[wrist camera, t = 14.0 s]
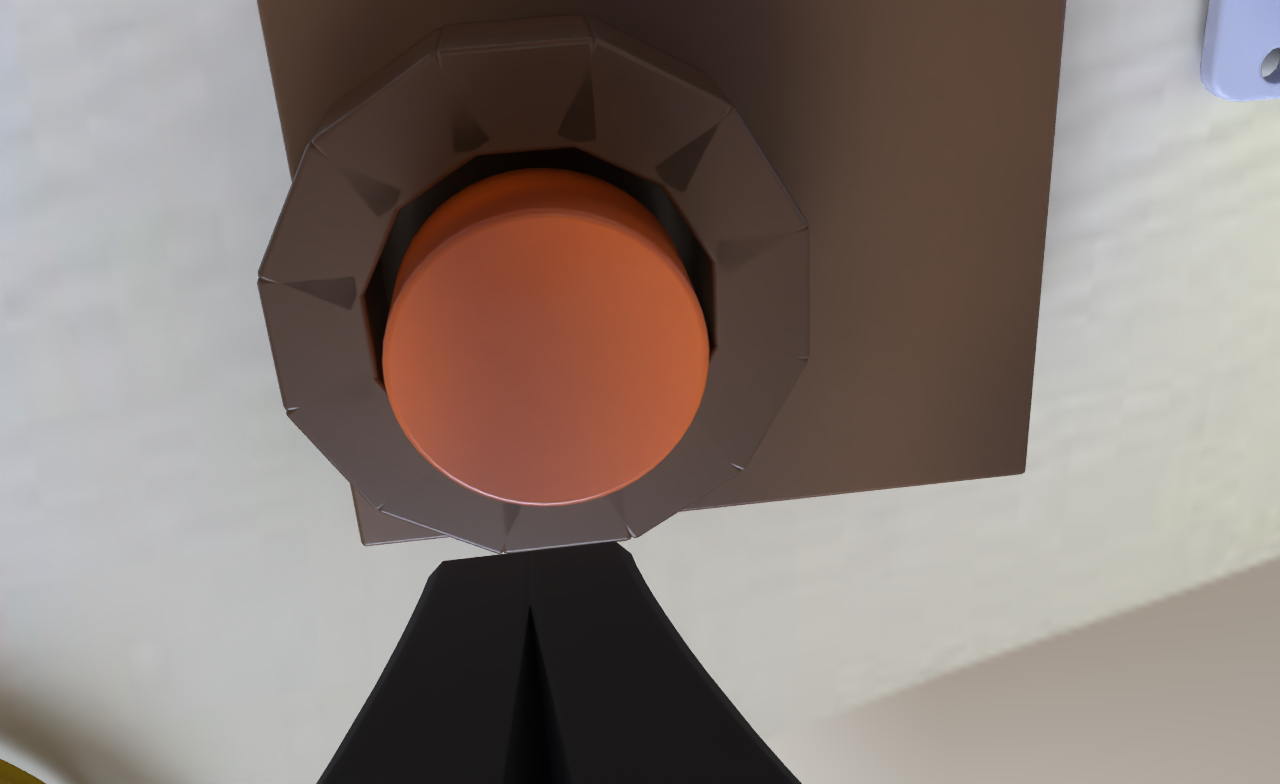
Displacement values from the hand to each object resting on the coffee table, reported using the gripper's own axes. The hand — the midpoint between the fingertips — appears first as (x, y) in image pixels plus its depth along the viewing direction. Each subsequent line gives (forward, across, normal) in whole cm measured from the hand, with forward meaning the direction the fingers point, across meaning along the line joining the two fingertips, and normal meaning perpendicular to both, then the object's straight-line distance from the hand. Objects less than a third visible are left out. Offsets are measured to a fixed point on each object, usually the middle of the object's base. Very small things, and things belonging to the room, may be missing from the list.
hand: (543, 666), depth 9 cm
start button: (+7, 0, 0) cm, 7 cm away
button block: (+10, -2, 0) cm, 11 cm away
